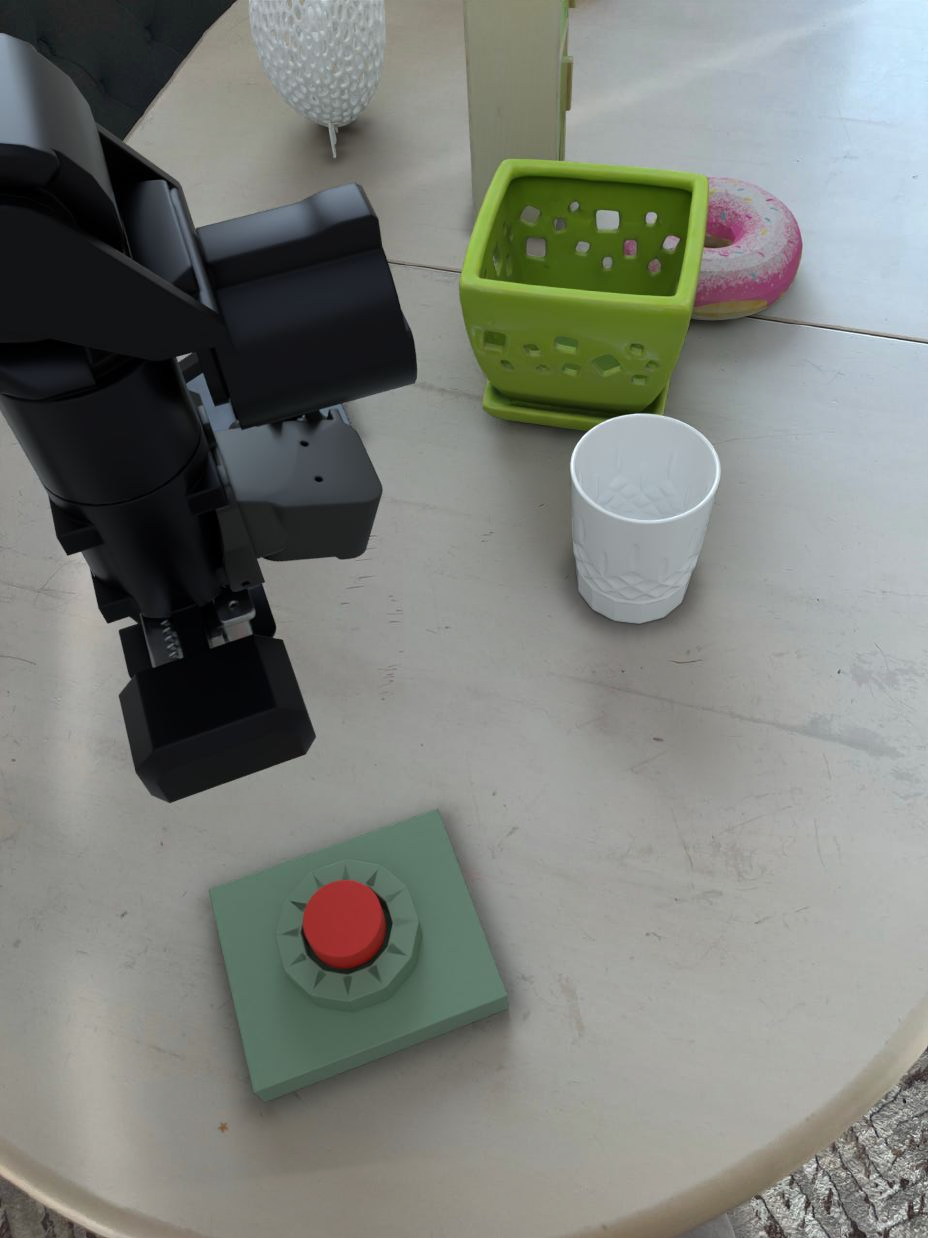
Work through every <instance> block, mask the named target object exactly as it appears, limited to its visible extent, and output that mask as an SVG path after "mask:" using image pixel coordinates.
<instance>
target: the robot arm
mask: <svg viewBox="0 0 928 1238" xmlns="http://www.w3.org/2000/svg"><path fill="white" fill-rule="evenodd" d="M416 351H417V350H416V344H415V338H414V334H413V331H412V328H411V326H410V324H409V322H408V320H407V318H406V316H405V314H404V312H403V310H402V306H401V303H400V299H399V295H398V291H397V287H396V283H395V280H394V277H393V272H392V269H391V267H390V263H389V261H388V258H387V255H386V252H385V249H384V246H383V239H382V232H381V226H380V219H379V217H378V215H377V213H376V210H375V208H374V207H373V205H372V202H371V201H370V199H369V196H368V195H367V193H366V191H365V189H364V187H363V185H361V184H360V183H358V182H355V181H354V182H351V183H346V184H343V185H338V186H333V187H329V188H326V189H324V190H323V189H322V190H321V191H317V192H315V193H313V194H312V195H310V196H308V197H305V198H303V199H302V200H299V201H297V202H294V203H291V204H286V205H282V206H280V207H275V208H270V209H266V210H262V211H258V212H255V213H250V214H246V215H242V216H238V217H235V218H230V219H226V220H222V221H218V222H214V223H211V224H207V225H202V226H199V227H195V224H194V220H193V217H192V215H191V211H190V208H189V204H188V202H187V199H186V196H185V192H184V189H183V187H182V185H181V183H180V181H178V179H176V178H175V177H173V176H172V175H170V174H169V173H167V172H166V171H165V170H164V169H162V168H161V167H159V166H158V165H156V164H155V163H154V162H152V161H151V160H150V159H148V158H146V157H145V156H144V155H142V154H141V153H140V152H138V151H137V150H135V149H134V148H133V147H131V146H130V145H129V144H128V143H126V142H124V141H123V140H121V139H120V138H119V137H118V136H116V135H114V134H113V133H112V132H111V131H109V130H108V129H107V128H105V127H104V126H102V125H100V124H99V123H98V122H96V121H95V119H94V116H93V113H92V110H91V106H90V104H89V102H88V101H87V99H86V98H85V96H84V95H83V94H82V93H81V91H80V89H79V88H78V87H77V85H76V84H75V83H74V81H73V80H72V78H71V77H70V76H69V75H68V74H66V73H65V72H64V71H63V70H61V68H59V67H58V66H57V65H56V64H55V63H53V62H52V61H50V60H49V59H48V58H46V57H45V56H44V55H43V54H41V53H40V52H38V51H37V49H36V47H35V46H34V45H33V44H31V43H30V42H29V41H25V40H23V39H20V38H17V37H14V36H12V35H10V34H7V33H4V32H0V412H1V414H2V416H3V418H4V419H5V421H6V423H7V425H8V426H9V428H10V431H11V432H12V434H13V435H14V437H15V439H16V441H17V443H18V444H19V446H20V447H21V450H22V451H23V453H24V455H25V456H26V458H27V460H28V462H29V463H30V465H31V467H32V469H33V470H34V472H35V474H36V476H37V477H38V480H39V481H40V483H41V484H42V486H43V488H44V490H45V492H46V494H47V497H48V502H49V506H50V507H49V508H50V511H51V517H52V521H53V526H54V532H55V536H56V539H57V541H58V543H59V544H60V546H61V548H62V550H63V551H64V553H65V554H66V556H67V557H69V556H72V555H76V554H78V553H81V555H82V556H83V558H84V560H85V562H86V563H87V565H88V567H89V572H90V576H91V581H92V585H93V590H94V595H95V599H96V604H97V608H98V610H99V612H100V614H101V616H102V617H103V619H104V620H105V622H106V624H108V625H109V624H112V623H115V622H118V621H121V620H123V619H127V618H130V619H131V620H133V621H134V622H135V624H132V625H129V626H126V627H123V628H120V629H118V635H119V639H120V643H121V649H122V653H123V657H124V661H125V666H126V670H127V674H128V676H129V678H130V680H129V681H128V682H127V684H126V685H125V686H124V687H123V689H122V690H121V691H120V693H119V694H118V700H119V704H120V709H121V713H122V718H123V722H124V727H125V731H126V736H127V739H128V745H129V749H130V754H131V759H132V763H133V768H134V773H135V774H136V776H137V777H138V778H139V780H140V781H141V782H142V784H143V786H144V787H145V788H146V790H147V791H148V793H149V795H150V796H152V797H154V798H155V799H158V800H161V801H163V802H165V803H167V804H171V803H172V804H173V803H174V802H177V801H180V800H183V799H186V798H188V797H191V796H194V795H198V794H199V793H202V792H206V791H208V790H211V789H213V788H216V787H220V786H222V785H225V784H227V783H230V782H233V781H236V780H239V779H241V778H244V777H247V776H250V775H252V774H256V773H258V772H261V771H264V770H267V769H269V768H273V767H275V766H277V765H278V766H279V765H280V764H283V763H286V762H289V761H292V760H295V759H298V758H300V757H303V756H306V755H307V754H308V752H309V750H310V748H311V747H312V745H313V743H314V742H315V740H316V738H317V735H316V732H315V729H314V725H313V723H312V720H311V717H310V714H309V711H308V708H307V704H306V702H305V699H304V696H303V692H302V691H301V687H300V684H299V681H298V679H297V676H296V673H295V671H294V668H293V664H292V661H291V659H290V655H289V653H288V650H287V647H286V645H285V642H284V640H283V639H282V638H277V637H275V635H276V632H277V624H276V620H275V617H274V614H273V612H272V609H271V606H270V602H269V600H268V596H267V594H266V591H265V588H264V585H263V584H264V583H266V580H265V577H264V575H263V571H262V569H261V566H260V562H259V561H258V559H261V558H262V559H264V560H267V561H271V562H279V563H280V562H292V561H304V560H315V559H324V558H325V559H327V558H328V559H329V558H336V559H338V560H341V561H343V560H352V559H356V558H359V557H360V556H362V555H363V554H365V552H366V550H367V548H368V546H369V545H368V544H369V542H370V538H371V534H372V530H373V527H374V523H375V520H376V516H377V513H378V510H379V506H380V502H381V499H382V495H383V491H384V490H383V489H384V488H383V484H382V482H381V480H380V478H379V475H378V473H377V471H376V468H375V467H374V465H373V462H372V460H371V458H370V456H369V453H368V451H367V448H366V447H365V445H364V442H363V440H362V438H361V436H360V434H359V432H358V431H357V430H356V429H355V428H354V427H353V426H352V425H351V426H350V425H348V424H346V423H344V421H343V419H342V417H341V415H340V412H339V410H338V409H329V411H328V416H327V417H326V416H324V415H323V414H322V413H321V412H320V410H321V409H324V408H328V407H331V406H335V405H339V404H342V405H343V404H344V403H345V404H346V403H349V402H353V401H356V400H360V399H364V398H367V397H371V396H374V395H379V394H381V393H382V394H383V393H385V392H389V391H392V390H396V389H400V388H402V387H406V386H407V387H408V386H410V385H413V384H416V381H417V380H418V360H417V352H416ZM193 352H196V353H197V356H198V359H199V362H200V366H201V369H202V372H203V375H204V378H205V381H206V384H207V386H208V389H209V392H210V395H211V398H212V401H213V403H214V406H215V407H216V406H220V405H223V404H227V403H230V401H229V400H230V399H232V403H233V406H234V409H235V412H236V415H237V418H238V420H237V421H235V422H233V423H232V424H231V425H230V427H229V429H227V430H219V431H214V432H213V429H212V427H211V424H210V421H209V418H208V415H207V412H206V410H205V407H204V405H203V402H202V400H201V397H200V394H199V393H196V392H193V391H191V390H188V388H187V385H186V382H185V380H184V377H183V374H182V371H181V369H180V366H179V363H178V362H179V361H178V357H182V356H187V355H190V354H191V353H193ZM303 415H305V416H304V417H303V418H300V419H298V418H299V417H300V416H303Z"/></svg>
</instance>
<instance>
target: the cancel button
mask: <svg viewBox="0 0 928 1238" xmlns="http://www.w3.org/2000/svg"><path fill="white" fill-rule="evenodd" d="M303 929H304V933H305V936H306V938H307V940H308V942H309V944H310V946H311V948H312V949H313V951H314V953H315V954H316V956H317V957H318V958H319V959H320V960H321V961H323V962H324V963H325V964H327V965H329V966H332V967H335V968H340V969H349V968H354V967H358V966H360V965H362V964H364V963H366V962H368V961H369V960H370V959H371V958H373V957H374V956H375V955H376V953H377V952H378V951H379V949H380V948H381V946H382V944H383V941H384V938H385V934H386V920H385V916H384V913H383V910H382V907H381V905H380V902H379V900H378V898H377V896H376V895H375V893H374V892H373V891H372V890H371V889H370V888H369V887H367V886H366V885H364V884H362V883H360V882H357V881H353V880H339V881H334V882H331V883H329V884H327V885H325V886H323V887H322V888H320V889H319V890H318V891H317V892H316V893H315V894H314V895H313V896H312V897H311V899H310V900H309V902H308V904H307V906H306V908H305V911H304V915H303Z"/></svg>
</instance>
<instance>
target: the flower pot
mask: <svg viewBox="0 0 928 1238" xmlns="http://www.w3.org/2000/svg"><path fill="white" fill-rule="evenodd" d="M708 177H709V176H707V175H705V174H701V173H697V172H689V171H681V170H673V169H672V170H671V169H661V168H652V167H643V166H632V165H619V164H606V163H596V162H594V163H593V162H580V161H569V160H565V161H553V160H537V159H507V160H504V161H503V162H502V163H501V164H500V166H499V168H498V169H497V171H496V173H495V175H494V177H493V179H492V182H491V184H490V186H489V189H488V191H487V193H486V196H485V198H484V201H483V204H482V206H481V209H480V211H479V214H478V217H477V220H476V222H475V225H474V224H473V228H472V232H471V234H470V238H469V241H468V245H467V248H466V251H465V255H464V259H463V264H462V268H461V272H460V277H459V282H458V283H459V285H458V290H459V291H458V292H459V301H460V308H461V311H462V312H461V313H462V318H463V322H464V327H465V331H466V334H467V337H468V340H469V344H470V347H471V349H472V352H473V355H474V357H475V359H476V361H477V363H478V366H479V367H480V369H481V371H482V372H483V374H484V375H485V377H486V378H487V380H486V385H485V389H484V393H483V398H482V409H483V410H484V412H486V413H487V414H489V415H490V416H492V417H494V418H497V419H502V420H506V421H514V422H519V423H525V424H531V425H533V424H534V425H541V426H548V427H554V428H563V429H570V430H576V431H577V430H578V431H583V432H588V431H589V430H591V429H592V428H593V427H595V426H597V425H598V424H600V423H602V422H604V421H607V420H609V419H612V418H615V417H619V416H623V415H629V414H656V415H662V416H664V414H665V409H666V404H667V398H668V393H669V389H670V384H671V377H672V374H673V372H674V370H675V368H676V365H677V363H678V360H679V358H680V356H681V353H682V350H683V348H684V343H685V341H686V338H687V334H688V330H689V327H690V323H691V320H692V319H691V315H692V310H693V306H694V301H695V296H696V290H697V285H698V279H699V273H700V268H701V262H702V256H703V248H704V241H705V233H706V224H707V215H708V205H709V179H708ZM575 202H576V203H577V204H578V207H577V208H575V209H572V208H571V205H572V204H574V203H575ZM526 206H532V207H534V208H536V209H538V210H540V214H539V216H538V218H537V219H536V221H535V222H533V223H530V222H528V221H525V220H523V219H521V218H520V216H521V214H522V212H523V210H524V209H525V207H526ZM598 211H610V212H617V213H618V227H617V228H615V229H605V228H604V229H599V228H598V223H597V214H598ZM649 212H654V213H656V214H657V219H656V222H655V223H647V222H646V215H647V213H649ZM556 219H557V220H559V219H561V220H562V221H563V222H564V223H563V224H564V227H563V228H561V229H559V230H557V228H556V229H555V226H554V220H556ZM668 236H675V237H677V238H679V239H680V240H679V241H678V243H677V245H676V247H675V249H674V250H669V249H666V248H664V247H663V244H664V242H665V239H666V238H667V237H668ZM530 238H531V239H541V240H544V243H545V249H544V250H545V252H544V255H542V256H540V255H539V256H538V255H533V254H528V250H527V249H528V248H527V247H528V244H527V243H528V239H530ZM627 240H634V241H636V244H637V253H636V255H629V256H628V255H625V252H624V243H625V241H627ZM581 242H582V243H587V244H589V246H588V248H587V250H586V251H582V250H578V249H577V247H578V244H579V243H581ZM608 257H609V258H610V259H611V266H608V267H605V266H604V259H606V258H608ZM654 259H657V260H658V261H659V262H660V264H661V269H660V270H658V271H657V272H655V273H653V272H651V271H650V269H649V268H648V265H649V263H650V262H651V261H653V260H654Z"/></svg>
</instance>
